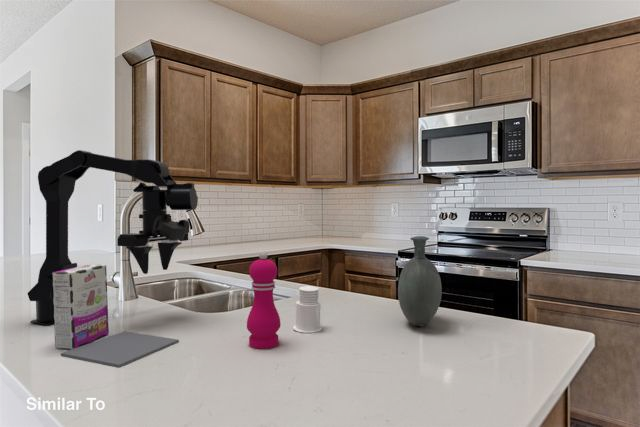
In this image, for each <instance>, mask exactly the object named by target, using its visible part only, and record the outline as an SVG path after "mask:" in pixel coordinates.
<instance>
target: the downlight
mask: <svg viewBox="0 0 640 427" xmlns="http://www.w3.org/2000/svg"><path fill="white" fill-rule="evenodd" d="M298 292H299V293H298V300H296V302H295V304H296V306H295V308H296V309H295V324H294V325H293V328H292V329H293V331H296V332H298V333H301V334H303V333H304V334H314V333H319V332H321V331H322V330H323V326H322V325H321V301H319V287H316V286H307V285H305V286H301V287H299V288H298Z"/></svg>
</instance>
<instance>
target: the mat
mask: <svg viewBox="0 0 640 427" xmlns="http://www.w3.org/2000/svg"><path fill="white" fill-rule="evenodd" d="M179 342H180V340H179V339H176V338H170V337H164V336H157V335H152V334H146V333H138V332H132V331H126V330H124V331H121V332H119V333H116V334H113V335H110V336H107V337H104V338H102V339H101V338H100V339H97V340H94V341H92V342H90V343H88V344H86V345H83V346H80V347H77V348H74V349H71V350H70V349H68V350H66V351H62V352H61V353H60V356H61V357H65V358H71V359H75V360H81V361H84V362H85V361H87V362H90V363H96V364H101V365H106V366H110V367H116V368H121V367H123V366H126V365H129V364H131V363H133V362H135V361H138V360H140V359H142V358H144V357H147V356H149V355H151V354H154V353H156V352H159V351H161V350H163V349H165V348H168V347H170V346H173V345H175V344H178V343H179Z"/></svg>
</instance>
